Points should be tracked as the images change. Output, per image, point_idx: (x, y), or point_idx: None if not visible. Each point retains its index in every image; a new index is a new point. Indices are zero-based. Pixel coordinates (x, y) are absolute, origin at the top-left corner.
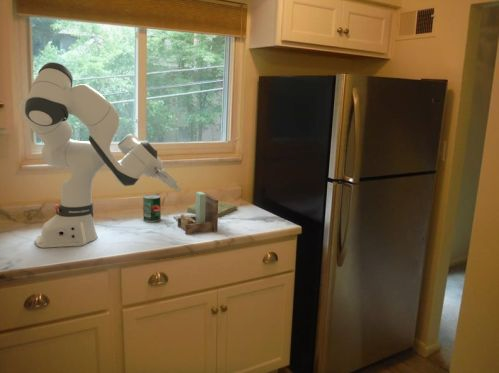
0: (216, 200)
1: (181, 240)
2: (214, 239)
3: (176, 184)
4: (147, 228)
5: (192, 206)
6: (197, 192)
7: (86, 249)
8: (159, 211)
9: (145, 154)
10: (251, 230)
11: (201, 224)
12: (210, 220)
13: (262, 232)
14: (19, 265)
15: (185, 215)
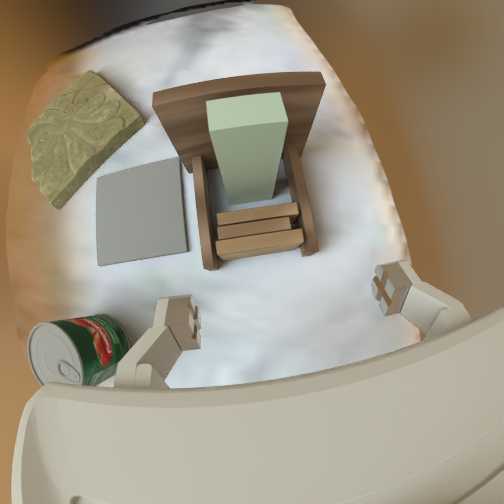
0: (322, 78)
1: (370, 281)
2: (372, 177)
3: (454, 299)
4: (210, 382)
5: (50, 185)
6: (223, 124)
7: None
8: (101, 326)
9: None
10: (298, 68)
11: (304, 187)
12: None
13: (318, 56)
14: None
15: (96, 219)
